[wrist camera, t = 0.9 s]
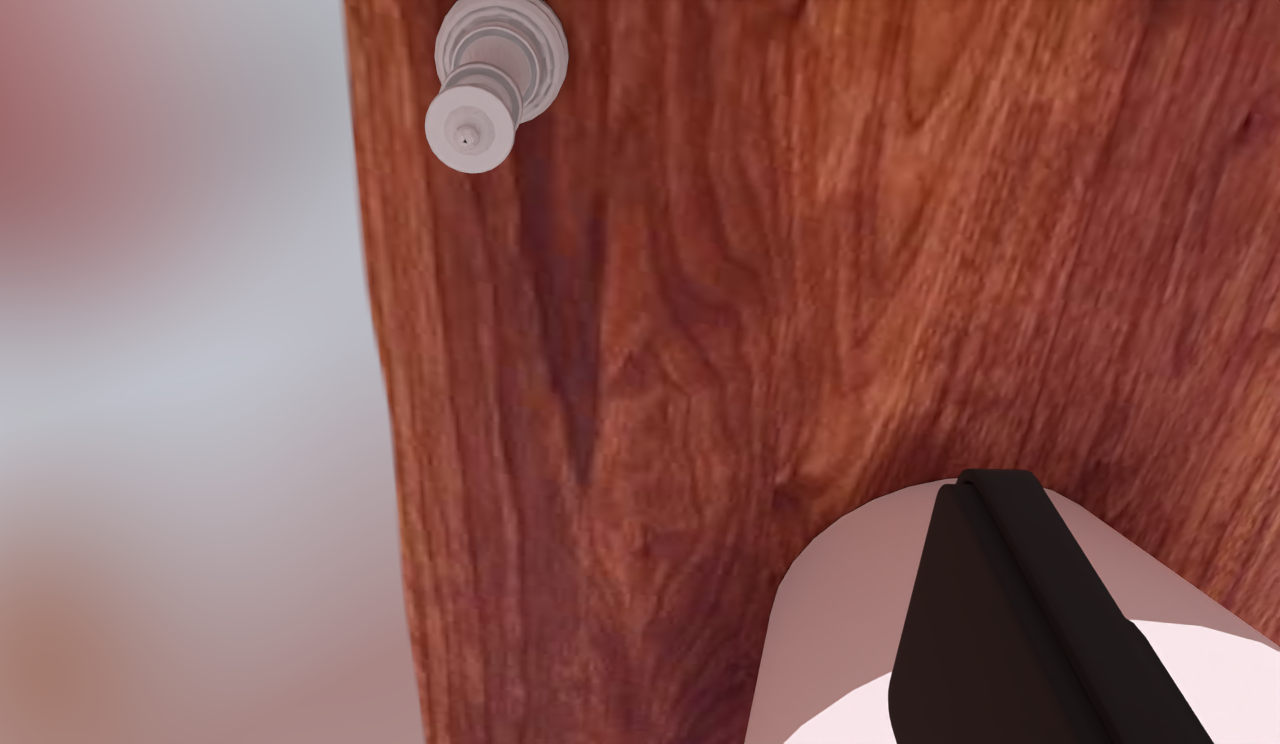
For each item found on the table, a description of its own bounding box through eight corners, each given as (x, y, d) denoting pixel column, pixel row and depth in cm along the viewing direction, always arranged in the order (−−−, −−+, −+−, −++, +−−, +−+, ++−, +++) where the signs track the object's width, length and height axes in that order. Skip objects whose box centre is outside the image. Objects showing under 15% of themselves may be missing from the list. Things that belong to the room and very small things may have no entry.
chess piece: (479, -46, 31) (428, 15, 23) (593, 32, 32) (585, 117, 24) (417, 68, 33) (347, 164, 24) (527, 138, 34) (497, 252, 26)
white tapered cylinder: (1180, 342, 39) (1379, 536, 29) (1207, 710, 51) (1356, 940, 41) (631, 504, 43) (635, 726, 33) (774, 812, 55) (810, 1046, 45)
